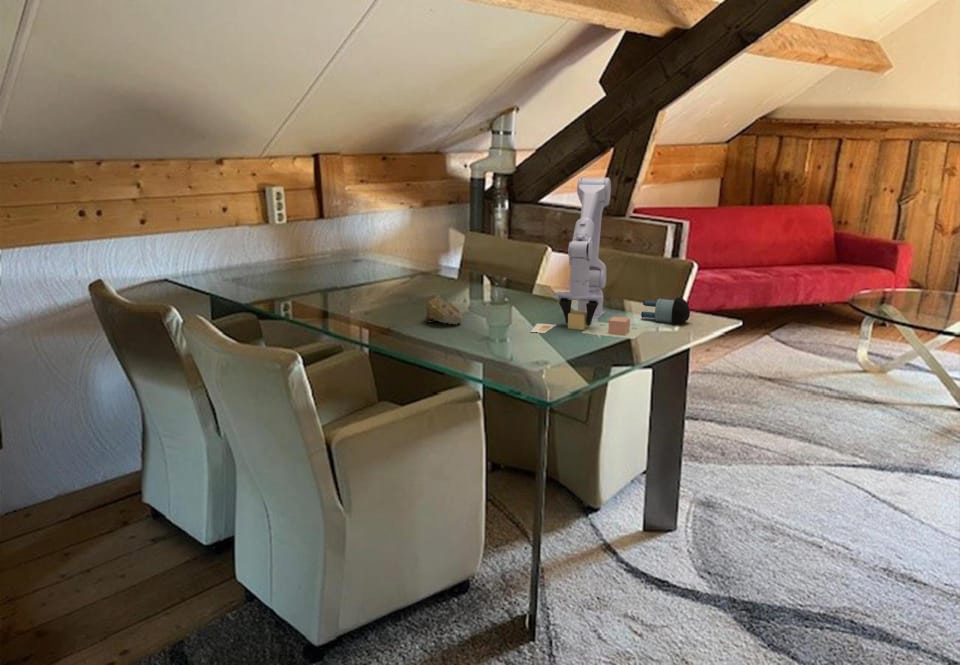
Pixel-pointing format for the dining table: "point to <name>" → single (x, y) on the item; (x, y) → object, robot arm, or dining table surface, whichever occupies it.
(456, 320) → the seashell
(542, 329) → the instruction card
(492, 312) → the dining table surface
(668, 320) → the toy
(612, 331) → the terracotta brick
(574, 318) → the ochre brick
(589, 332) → the plate
